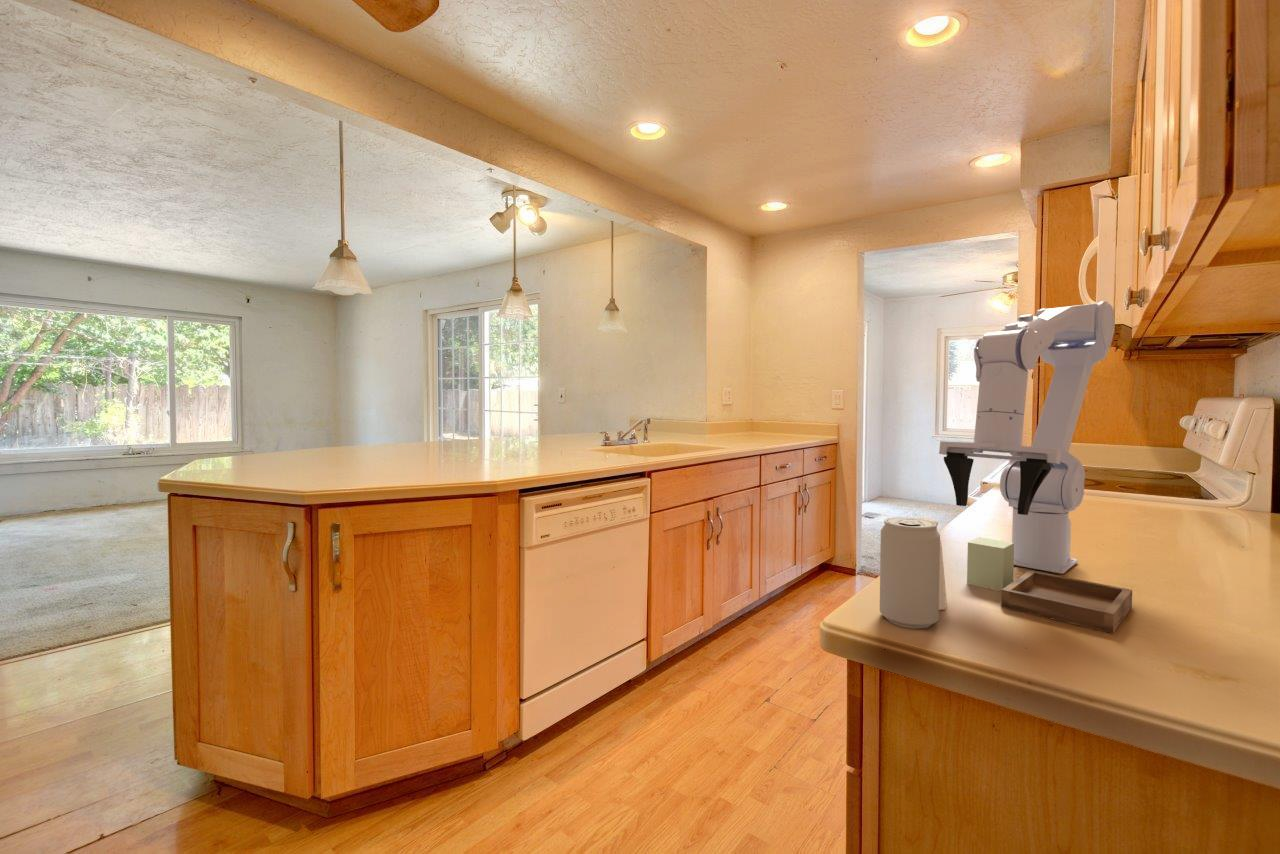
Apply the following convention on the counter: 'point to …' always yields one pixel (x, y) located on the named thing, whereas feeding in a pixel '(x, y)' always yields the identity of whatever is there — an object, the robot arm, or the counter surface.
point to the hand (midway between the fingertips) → (990, 510)
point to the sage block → (990, 563)
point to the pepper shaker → (940, 576)
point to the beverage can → (909, 572)
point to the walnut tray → (1068, 600)
